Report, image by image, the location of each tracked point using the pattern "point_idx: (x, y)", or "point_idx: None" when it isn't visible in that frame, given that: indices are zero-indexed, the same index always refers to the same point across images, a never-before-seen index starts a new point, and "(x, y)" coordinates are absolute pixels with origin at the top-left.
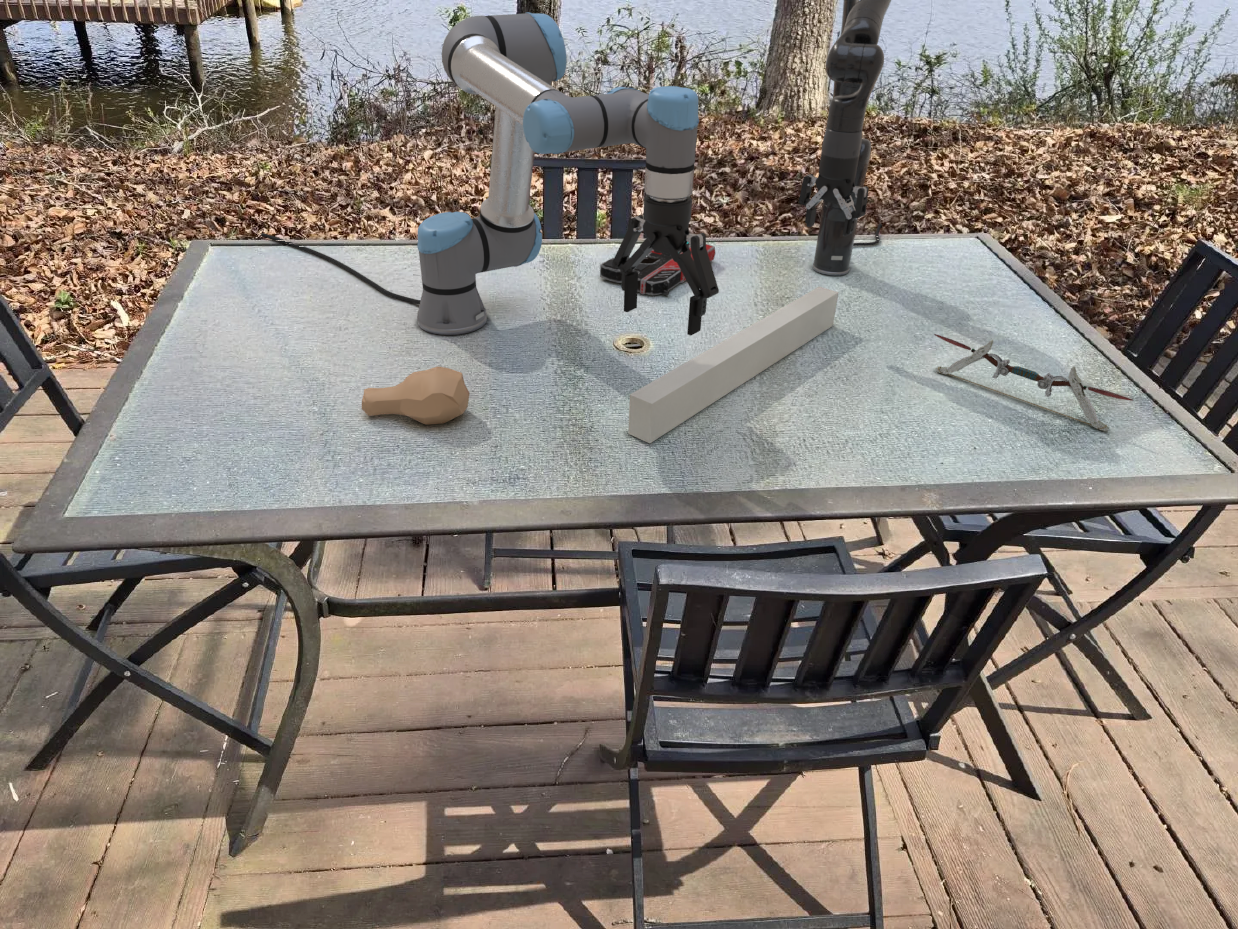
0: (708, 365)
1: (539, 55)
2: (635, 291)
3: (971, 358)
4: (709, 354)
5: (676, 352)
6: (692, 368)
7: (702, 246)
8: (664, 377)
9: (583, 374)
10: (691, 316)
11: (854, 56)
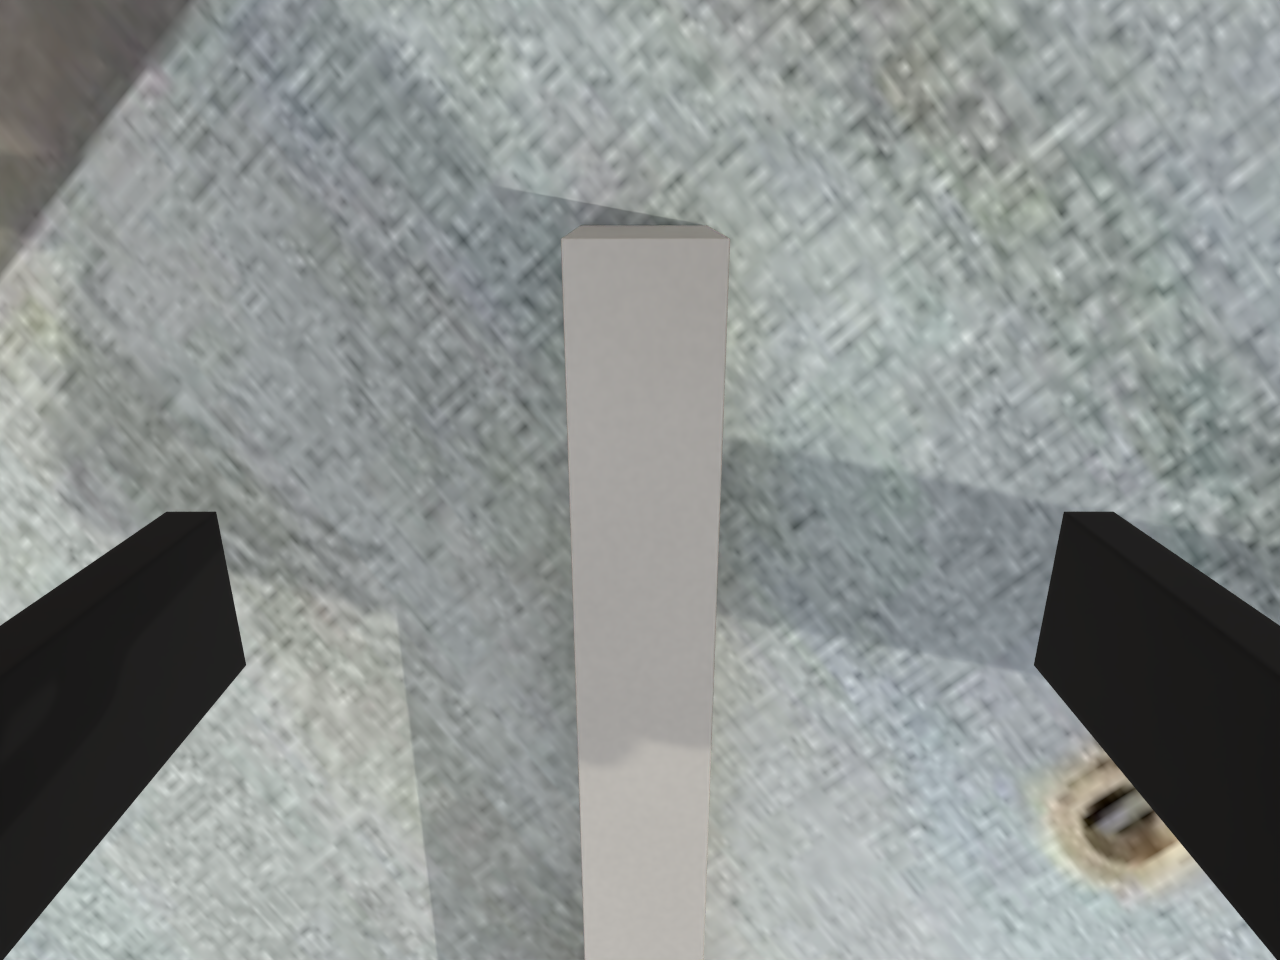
0: (606, 755)
1: None
2: (1159, 769)
3: None
4: (672, 838)
5: (941, 868)
6: (647, 687)
7: None
8: (698, 525)
9: (1183, 503)
10: (14, 623)
11: None
